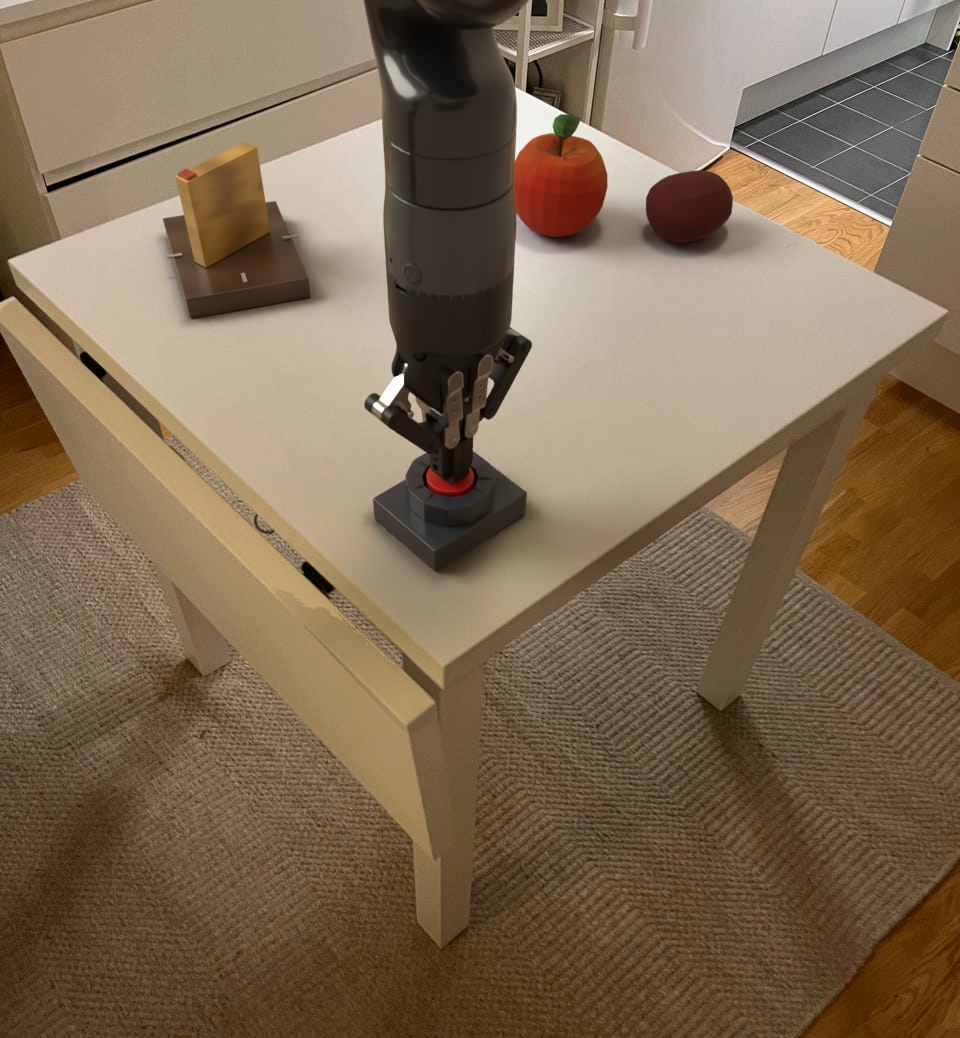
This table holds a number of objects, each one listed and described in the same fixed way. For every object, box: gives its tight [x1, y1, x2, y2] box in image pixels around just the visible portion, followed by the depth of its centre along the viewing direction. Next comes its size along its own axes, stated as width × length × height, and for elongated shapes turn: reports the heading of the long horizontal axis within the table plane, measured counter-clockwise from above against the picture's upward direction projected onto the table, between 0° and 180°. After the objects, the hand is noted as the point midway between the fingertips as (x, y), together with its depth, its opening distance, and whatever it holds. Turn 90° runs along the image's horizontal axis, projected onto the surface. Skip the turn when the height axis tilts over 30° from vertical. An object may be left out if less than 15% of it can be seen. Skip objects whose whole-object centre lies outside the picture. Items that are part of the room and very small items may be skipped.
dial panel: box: [162, 200, 311, 319], centre depth 93 cm, size 14×12×2 cm
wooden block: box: [175, 141, 270, 268], centre depth 89 cm, size 8×2×8 cm, turn 141°
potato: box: [645, 169, 734, 243], centre depth 97 cm, size 8×9×6 cm
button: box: [427, 467, 474, 497], centre depth 72 cm, size 3×3×2 cm
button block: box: [372, 450, 528, 572], centre depth 73 cm, size 9×7×4 cm
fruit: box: [514, 113, 609, 238], centre depth 96 cm, size 10×10×10 cm
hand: (451, 474), depth 71 cm, fingers closed
